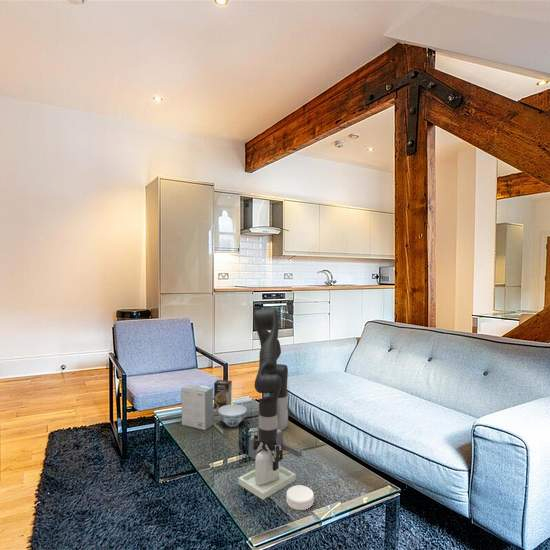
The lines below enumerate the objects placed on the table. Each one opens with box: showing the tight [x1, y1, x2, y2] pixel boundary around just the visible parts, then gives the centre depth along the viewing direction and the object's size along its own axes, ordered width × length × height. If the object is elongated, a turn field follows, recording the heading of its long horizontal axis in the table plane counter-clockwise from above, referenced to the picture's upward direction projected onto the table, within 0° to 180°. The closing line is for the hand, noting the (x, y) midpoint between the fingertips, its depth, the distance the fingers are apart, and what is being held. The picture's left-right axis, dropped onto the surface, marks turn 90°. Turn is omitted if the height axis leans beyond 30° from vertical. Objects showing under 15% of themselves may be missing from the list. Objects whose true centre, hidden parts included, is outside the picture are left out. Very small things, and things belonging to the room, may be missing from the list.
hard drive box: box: [180, 383, 214, 431], centre depth 201 cm, size 16×8×20 cm, turn 65°
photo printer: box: [254, 450, 281, 485], centre depth 150 cm, size 10×4×12 cm, turn 125°
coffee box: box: [213, 379, 233, 411], centre depth 223 cm, size 9×6×16 cm
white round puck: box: [285, 484, 315, 511], centre depth 138 cm, size 10×10×4 cm
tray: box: [237, 465, 297, 501], centre depth 150 cm, size 18×14×2 cm
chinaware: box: [217, 403, 248, 427], centre depth 203 cm, size 15×15×8 cm
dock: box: [248, 429, 302, 460], centre depth 170 cm, size 18×16×9 cm
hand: (267, 465), depth 150 cm, fingers open, 8 cm apart
